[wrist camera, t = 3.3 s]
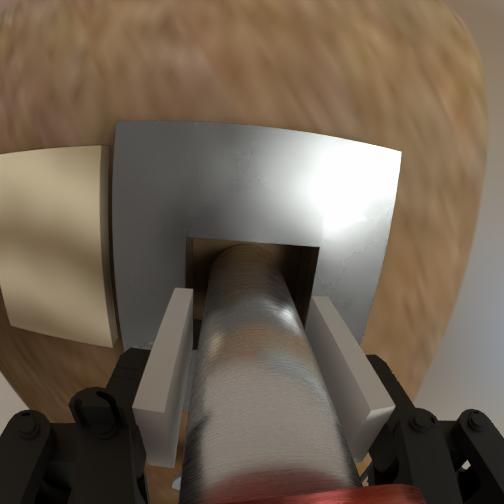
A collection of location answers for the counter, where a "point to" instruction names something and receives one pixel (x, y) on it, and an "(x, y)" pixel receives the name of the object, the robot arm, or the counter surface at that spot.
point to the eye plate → (245, 214)
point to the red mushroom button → (265, 401)
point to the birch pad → (57, 243)
